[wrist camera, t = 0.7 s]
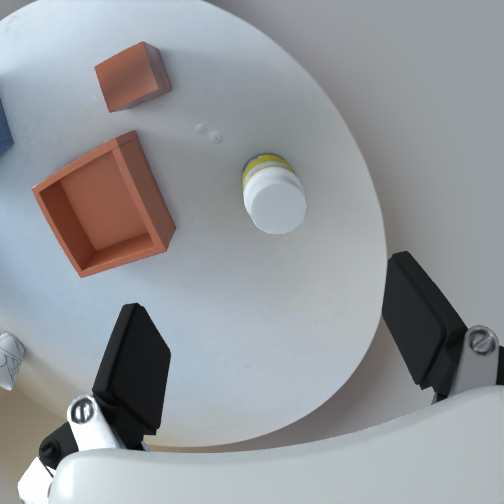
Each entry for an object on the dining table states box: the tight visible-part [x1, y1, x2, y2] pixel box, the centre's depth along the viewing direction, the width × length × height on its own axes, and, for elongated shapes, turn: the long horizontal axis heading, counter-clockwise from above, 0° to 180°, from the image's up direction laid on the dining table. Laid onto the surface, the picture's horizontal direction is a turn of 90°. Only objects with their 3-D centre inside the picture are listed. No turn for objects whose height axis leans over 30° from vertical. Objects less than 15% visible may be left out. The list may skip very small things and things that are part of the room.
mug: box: [0, 333, 24, 390], centre depth 36 cm, size 11×8×10 cm
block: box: [94, 41, 172, 113], centre depth 18 cm, size 4×4×4 cm
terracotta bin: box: [32, 130, 176, 278], centre depth 24 cm, size 11×11×5 cm
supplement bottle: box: [242, 153, 307, 235], centre depth 22 cm, size 5×5×8 cm
